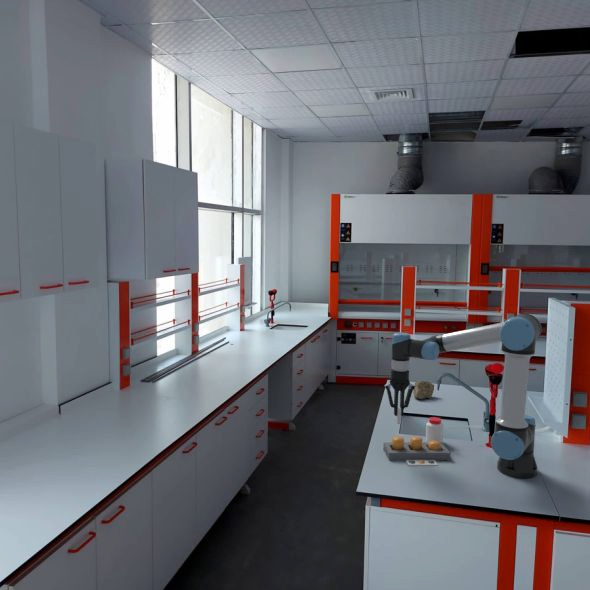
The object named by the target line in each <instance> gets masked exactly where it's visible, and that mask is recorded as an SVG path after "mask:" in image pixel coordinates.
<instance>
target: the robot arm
mask: <svg viewBox="0 0 590 590" xmlns="http://www.w3.org/2000/svg"><path fill="white" fill-rule="evenodd" d="M541 333H542V324H541V322H540V321H539V319H538V318H537V317H536V316H534V315H532V314H529V313H520V314H518V315H515V316H511V317H509V318H504V319H503V320H502V322H498V323H493V324H489V325H482V326H478V327H472V328H468V329H464V330H458V331H454V332H450V333H449V332H448V333H443V334H437V335H432V336H431V337H427V338H425V339H423V340H421V339H412V338H411V335H410V333H408V332H395V333H393V334H392V340H391V365H390V366H391V367H390V368H391V370H390V380H389V383H387V384H386V383H385V384H384V385H383V386H384V388H385V389H386V392H387V398H388V403H389V406H390V407H391V408H393V415H394V416H395V423H396V425H401V424H402V423H401V422H402V417H403V416H404V409H406V408H408V407H409V404H410V402H411V397H412V394H413V392H414V388H415V386H414V385H415V384H412V383H410V382H411V381H410V370H409V369H410V358H415V359H418V360H419V359H420V360H426V361H436V360H437V359H438V357H439V354H442V353H447V352H451V351H452V352H453V351H458V350H463V349H464V350H465V349H469V348H474V347H481V346H486V345H491V344H497V343H501V347H500V348H501V349H500V351H501V352H502V354H503V355H504V367H503V378H502V390H501V392H502V393H501V404H500V414H499V416H498V417H496V418H495V422H494V433H493V434H492V436H491V438H490V445H491V448H492V450H493V452H494V453H495V454H496V455H497V456H498V457H499V458H498V460H497V464H496V468H497V471H499V472H500V473H502V474H504V475H506V476H509V477H513V478H518V479H519V478H520V479H530V478H535V477H536V476H537V475H538V465H537V462H536V458H535V455H534V453H535V452H534V451H535V436H536V426H537V425H536V419H535V418H534V417H533V416H531V415H528V414H526V405H527V394H528V393H527V392H528V383H529V382H528V381H529V373H530V372H529V370H530V359H531V358H532V357H533V356H534V355H535V354H536V353H535V351H536V343H537V342H536V341H537V340H538V339H539V338H540V336H541ZM391 387H392V389H393V390H394V393H393V394H394V395H393V396H392V392H391ZM407 388H408V390H407V393H406V395H405V391H406V389H407ZM399 393H400V394H399ZM393 398H394V399H393Z"/></svg>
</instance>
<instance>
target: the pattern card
mask: <svg viewBox="0 0 590 590" xmlns="http://www.w3.org/2000/svg"><path fill="white" fill-rule="evenodd" d="M405 462H406V464H407V465H408V467H410V466H411V467H413V466H416V467H417V466H418V467H419V466H421V467H424V466H425V467H426V466H427V467H429V466H432V467H434V466H438V463H437V462H436V460H405Z"/></svg>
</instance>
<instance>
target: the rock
mask: <svg viewBox="0 0 590 590" xmlns="http://www.w3.org/2000/svg"><path fill="white" fill-rule="evenodd" d="M413 385H414V386H415V388H414V390H413V391H412V394H413V397H414V398H416V399H418V400H422V399H426V398H427V399H429V398H430V399H431V398H432V396H433V394H434V390H435V384H434V383H432V382H430V381H424V380H422V381H415V383H414V384H413Z"/></svg>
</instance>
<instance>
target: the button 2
mask: <svg viewBox="0 0 590 590" xmlns="http://www.w3.org/2000/svg"><path fill="white" fill-rule="evenodd" d="M440 445H441V443H440V442H438V441H429V447H428V449H429V450H440Z"/></svg>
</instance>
